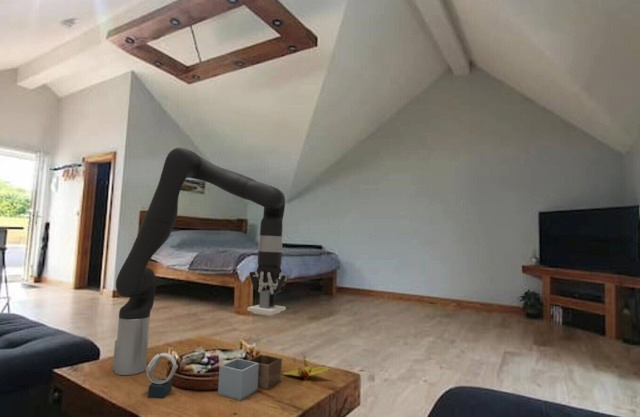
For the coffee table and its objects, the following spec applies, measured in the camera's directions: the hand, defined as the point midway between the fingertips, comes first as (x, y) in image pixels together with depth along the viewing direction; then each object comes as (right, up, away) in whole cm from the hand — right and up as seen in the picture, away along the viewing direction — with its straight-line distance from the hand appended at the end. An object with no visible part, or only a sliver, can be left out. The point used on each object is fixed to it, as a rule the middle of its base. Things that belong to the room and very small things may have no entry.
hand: (267, 304), depth 121 cm
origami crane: (+12, -25, +4) cm, 28 cm away
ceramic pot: (-7, -23, -10) cm, 26 cm away
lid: (0, -2, 0) cm, 2 cm away
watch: (-28, -22, -13) cm, 38 cm away
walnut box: (-1, -24, -2) cm, 24 cm away
